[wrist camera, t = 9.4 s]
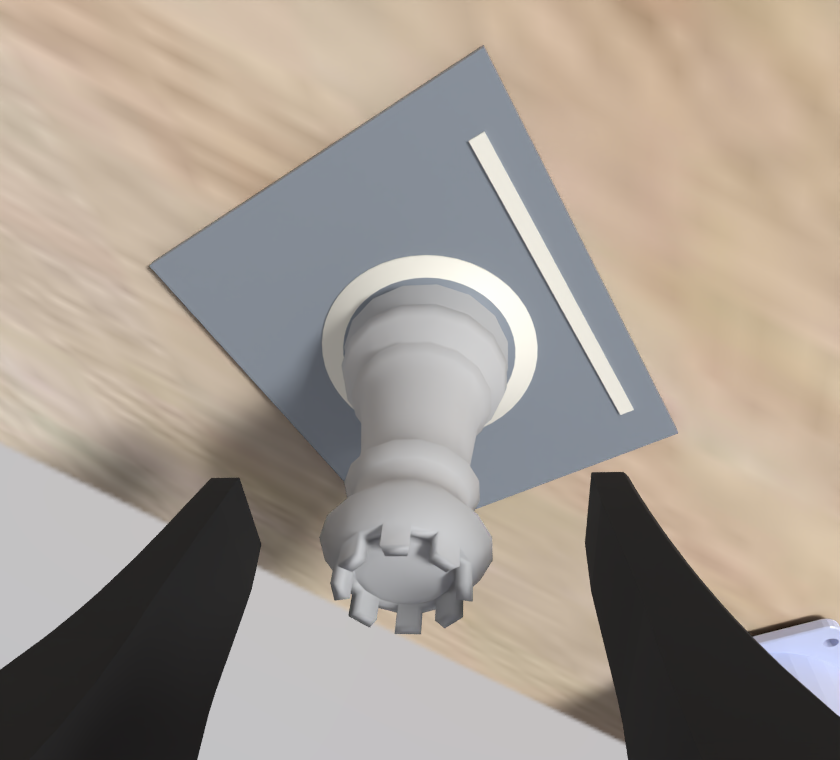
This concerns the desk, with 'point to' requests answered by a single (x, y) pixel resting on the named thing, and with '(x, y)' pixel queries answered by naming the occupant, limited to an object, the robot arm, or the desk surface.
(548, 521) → the desk surface
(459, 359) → the rook chess piece
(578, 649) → the desk surface
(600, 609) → the robot arm
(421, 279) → the grey base plate
